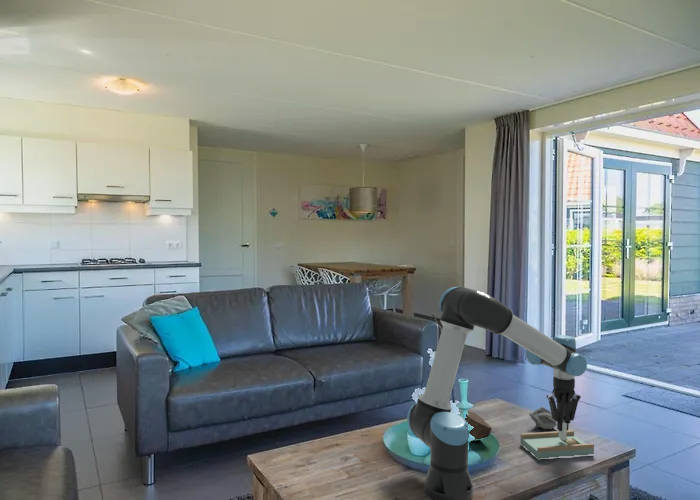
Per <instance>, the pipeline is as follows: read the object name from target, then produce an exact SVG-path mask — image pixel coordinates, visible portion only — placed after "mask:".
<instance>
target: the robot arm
mask: <svg viewBox="0 0 700 500" xmlns="http://www.w3.org/2000/svg"><path fill="white" fill-rule="evenodd" d="M438 303H439V305H438V306H439V310H440V312H441V316H440V320H439V322H440V323H441V325H442V328H441V329H442V330H441V333H440V336H439V339H438V343H437V347H436V350H435V354H434V357H433V361H432V365H431V368H430V371H429V376H428V379H427V382H426V386H425V390H424V392H423V393H422V394H421V395H420V396H419V395H418V397H417V401H416V402H415V403H414V404H413V405H411V406H410V408H409V409H408V412H407V417H406V420H407V421H406V422H407V426H408V428H409V430H410V432H412V433H413V435H414V436H415V437H416V438H417V439H419V440H420V441H421V442H422V443H423V444H425V445H426V446H427V447H428V448H429V449H430V454H429V455H430V462H429V463H430V465H429V468H428V470H427V474H426V477H425V478H424V479H425V480H424V493H425V494H426V495H427V496H428V497H429V498H430V499H432V500H471V499H473V496H474V485H473V482H472V479H471V476H470V472H469V467H468V465H469V441H468V438H469V431H468V424H467V422H466V420H465V419H464V418H463V417H462V416H461V415H459V414H457V413H453V412H451V411H452V406H451V404H450V398H451V394H452V390H453V388H454V387H453V386H454V383H455V380H456V376H457V372H458V369H459V367H460V366H459V365H460V362H461V358H462V355H463V351H464V348H465V344H466V341H467V340H466V339H467V336H468V334H471V333H472V332H474V328H475V327H478V328H481V329H483V330H487V331H489V332H491V333H492V334H495V335H496V336H497V335H502V336H503V337H505V338H507V339H509V340H510V341H512V342H514V344H516V345H519V346H520V347H521V348H523V349H525V359H526V360H527V362H528V363H529V364H531V365H535V366H540V365H544V366H546V367H549V368H551V369H553V371H552V372H553V373H552V376H553V378H552V386H553V389H552V393H551V394H546V399H547V400H548V404H549V408H550V409H549V410H550V412H551V414H552V419H554V420H555V421H556V424H557V425H556V429H557V430H558V431H559V438H560V439H562V440H566V438H567V431H569V427H570V425H569V424H571V421H574V420H575V416H576V413H577V408H578V403H579V402H580V399H581V395H580V394H577V393H576V391H575V388H576V377H579V376H582V375H583V374H585V372H586V370H587V368H588V361H587V359H586V357H584V356H583V354H579V353H578V352H577V343H576V342H577V341H576V338H575V337H573V336H572V335H571V336H569V335H567V334H566V335H565V334H564V335H563V334H557V335H555V336H554V339H552V338H551V337H549V336H548V335H546V334H545V333H543V332H541V331H540V330H538V329H537V328H536V327H534V326H532V325H530V324H529V323H527V322H526V321H524V320H522V319H521V318H520V317H518V316H516V315H515V314H514V312H513V310H512V309H511V308H509V307H508V306H507V305H505V304H503V303H502V302H501V301H499V300H497V299H496V298H494V297H493V296H492V295H490V294H488V293H487V292H484V291H482V290H476V289H472V288H468V287H464V286H453V287H449V288H447V289H446V290H445V291H444V292H443V293H442V295H441V296H440V298H439V302H438ZM555 400H556V401H555Z"/></svg>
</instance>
